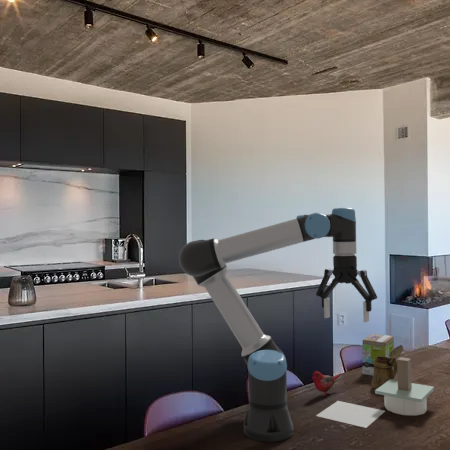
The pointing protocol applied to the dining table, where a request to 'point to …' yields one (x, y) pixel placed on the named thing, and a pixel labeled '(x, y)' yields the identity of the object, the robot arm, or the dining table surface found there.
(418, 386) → the lid
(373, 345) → the tea box
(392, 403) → the bowl
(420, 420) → the dining table surface
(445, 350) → the dining table surface
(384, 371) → the wooden mug
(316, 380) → the decorative bird figurine
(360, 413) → the mat
